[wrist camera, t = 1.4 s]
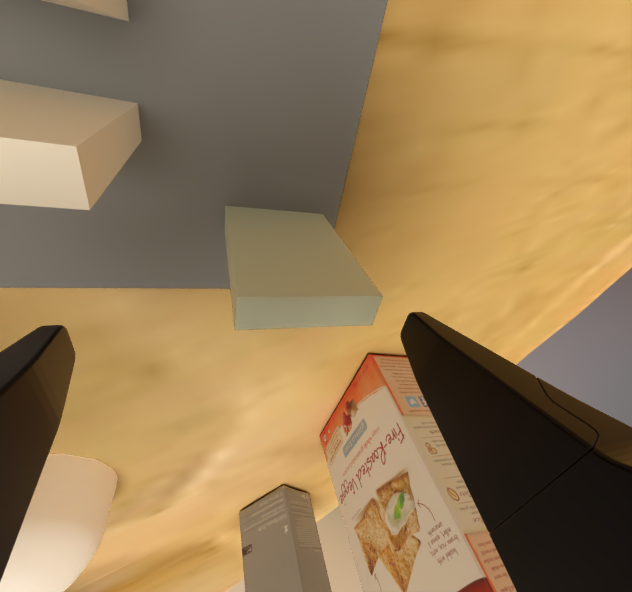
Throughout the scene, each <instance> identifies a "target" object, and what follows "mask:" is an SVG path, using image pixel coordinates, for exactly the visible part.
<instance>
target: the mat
mask: <svg viewBox="0 0 632 592" xmlns="http://www.w3.org/2000/svg"><path fill="white" fill-rule="evenodd" d="M387 1H388V0H127V7H128V17H129V21H125V20H120V19H116V18H112V17H108V16H104V15H100V14H96V13H92V12H87V11H83V10H79V9H75V8H71V7H67V6H63V5H59V4H55V3H50V2H46V1H42V0H0V79H1V80H7V81H12V82H18V83H24V84H30V85H36V86H42V87H47V88H53V89H59V90H65V91H71V92H77V93H82V94H88V95H94V96H100V97H106V98H112V99H117V100H123V101H129V102H135V103H138V110H139V119H140V129H141V138H142V141H141V142H140V144H139V145H138V146H137V148H136V149H135V150H134V152H133V153H132V154H131V156H130V157H129V158H128V160H127V161H126V163H125V164H124V165H123V167H122V168H121V169H120V171H119V172H118V173H117V175H116V176H115V177H114V179H113V180H112V181H111V183H110V184H109V185H108V187H107V188H106V189H105V191H104V192H103V193H102V195H101V196H100V197H99V199H98V200H97V201H96V203H95V204H94V205H93V207H92V208H91V209H90V210H80V209H66V208H52V207H38V206H24V205H11V204H0V288H224V289H231V288H230V279H229V269H228V259H227V250H226V240H225V206H235V207H247V208H258V209H270V210H282V211H293V212H305V213H317V214H323V215H324V216H325V218H326V219H327V220H328V222H329V223H330V225H331V226H332V227H333V229H334V227H335V223H336V219H337V214H338V210H339V206H340V202H341V197H342V193H343V189H344V185H345V180H346V176H347V172H348V167H349V163H350V159H351V155H352V150H353V146H354V142H355V138H356V133H357V129H358V125H359V121H360V116H361V112H362V108H363V104H364V99H365V95H366V91H367V86H368V82H369V78H370V74H371V69H372V65H373V61H374V57H375V52H376V48H377V44H378V40H379V35H380V31H381V27H382V23H383V18H384V14H385V10H386V5H387Z"/></svg>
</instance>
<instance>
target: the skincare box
mask: <svg viewBox="0 0 632 592" xmlns="http://www.w3.org/2000/svg"><path fill="white" fill-rule="evenodd" d="M239 515H240V529H241V541H242V555H243V568H244V580H245V592H332V591H331V587H330V583H329V578H328V574H327V570H326V565H325V561H324V557H323V552H322V548H321V544H320V540H319V535H318V530H317V526H316V522H315V517H314V513H313V508H312V504H311V500H310V496H309V494H308V493H305V492H301V491H298V490H295V489H292V488H289V487H287V486H284V485H283V486H281V487H279V488H278V489H276V490H275V491H273V492H271V493H270V494H268V495H266V496H265V497H263V498H262V499H260V500H258V501H257V502H255V503H254V504H252V505H251V506H249V507H248V508H246V509H244V510H242V511H240V513H239Z"/></svg>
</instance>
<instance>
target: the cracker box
mask: <svg viewBox="0 0 632 592" xmlns="http://www.w3.org/2000/svg"><path fill="white" fill-rule="evenodd" d="M320 439H321V443H322V446H323V450H324V454H325V457H326V460H327V464H328V468H329V471H330V475H331V478H332V482H333V486H334V489H335V493H336V496H337V500H338V503H339V507H340V510H341V513H342V517H343V521H344V525H345V528H346V532H347V535H348V539H349V543H350V546H351V550H352V553H353V557H354V560H355V564H356V568H357V571H358V574H359V578H360V582H361V585H362V589H363V592H517V591H516V589H515V587H514V585H513V583H512V581H511V579H510V577H509V575H508V573H507V570H506V568H505V566H504V564H503V562H502V560H501V558H500V556H499V554H498V552H497V550H496V547H495V545H494V543H493V541H492V539H491V537H490V535H489V532H488V530H487V528H486V526H485V524H484V522H483V520H482V518H481V516H480V514H479V512H478V509H477V507H476V505H475V503H474V501H473V499H472V497H471V495H470V493H469V491H468V489H467V487H466V484H465V482H464V480H463V478H462V476H461V474H460V472H459V470H458V468H457V466H456V464H455V461H454V459H453V457H452V455H451V453H450V451H449V449H448V447H447V445H446V443H445V441H444V439H443V436H442V434H441V432H440V430H439V428H438V426H437V424H436V422H435V420H434V418H433V416H432V413H431V411H430V409H429V407H428V405H427V403H426V401H425V399H424V397H423V395H422V393H421V391H420V388H419V386H418V384H417V382H416V379H415V377H414V374H413V371H412V368H411V366H410V363H409V360H408V357H399V356H384V355H371V354H369V355H368V356H367V358H366V360H365V361H364V363H363V365H362V366H361V368H360V370H359V371H358V373H357V375H356V377H355V378H354V380H353V382H352V383H351V385H350V387H349V388H348V390H347V391H346V393H345V395H344V397H343V398H342V400H341V402H340V403H339V405H338V407H337V408H336V410H335V412H334V413H333V415H332V417H331V418H330V420H329V422H328V423H327V425H326V427H325V428H324V430H323V431H322V433H321V435H320Z"/></svg>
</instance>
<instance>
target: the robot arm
mask: <svg viewBox="0 0 632 592" xmlns="http://www.w3.org/2000/svg"><path fill="white" fill-rule="evenodd" d="M401 341H402V343H403V346H404V349H405V352H406V355H407V357H408V360H409V363H410V366H411V368H412V371H413V374H414V377H415V379H416V382H417V384H418V386H419V388H420V391H421V393H422V395H423V397H424V399H425V401H426V403H427V405H428V407H429V409H430V411H431V413H432V416H433V418H434V420H435V422H436V424H437V426H438V428H439V430H440V432H441V434H442V436H443V439H444V441H445V443H446V445H447V447H448V449H449V451H450V453H451V455H452V457H453V459H454V461H455V464H456V466H457V468H458V470H459V472H460V474H461V476H462V478H463V480H464V482H465V484H466V487H467V489H468V491H469V493H470V495H471V497H472V499H473V501H474V503H475V505H476V507H477V509H478V512H479V514H480V516H481V518H482V520H483V522H484V524H485V526H486V528H487V530H488V532H489V535H490V537H491V539H492V541H493V543H494V545H495V547H496V550H497V552H498V554H499V556H500V558H501V560H502V562H503V564H504V566H505V568H506V570H507V573H508V575H509V577H510V579H511V581H512V583H513V585H514V587H515V589H516V591H517V592H632V427H630V426H628V425H626V424H624V423H622V422H620V421H618V420H616V419H614V418H612V417H610V416H609V415H607V414H605V413H603V412H601V411H599V410H597V409H595V408H593V407H591V406H589V405H587V404H585V403H583V402H581V401H579V400H578V399H576V398H574V397H572V396H570V395H568V394H566V393H565V392H563V391H561V390H559V389H557V388H556V387H554V386H552V385H550V384H548V383H547V382H545V381H543V380H542V379H539V378H536V377H535V376H534V375H532V374H531V373H529V372H527V371H525V370H524V369H522V368H520V367H519V366H517V365H515V364H513V363H512V362H510V361H508V360H506V359H504V358H503V357H501V356H499V355H497V354H496V353H494V352H492V351H490V350H489V349H487V348H485V347H483V346H482V345H480V344H478V343H476V342H475V341H473V340H471V339H469V338H468V337H466V336H464V335H462V334H461V333H459V332H457V331H455V330H454V329H452V328H450V327H448V326H447V325H445V324H443V323H441V322H440V321H438V320H436V319H434V318H432V317H431V316H429V315H427V314H425V313H423V312H412V313H410V314H409V315H408V317H407V319H406V321H405V324H404V326H403V328H402V331H401ZM74 363H75V351H74V348H73V345H72V342H71V340H70V337H69V334H68V331H67V329H66V328H65V327H64V326H62V325H52V326H41V327H39V328H37V329H36V330H34V331H32V332H31V333H29V334H28V335H26V336H25V337H23V338H22V339H20V340H18V341H17V342H15V343H14V344H12V345H11V346H9V347H8V348H6V349H4V350H3V351H1V352H0V582H1V579H2V577H3V574H4V571H5V569H6V566H7V563H8V561H9V558H10V555H11V553H12V550H13V547H14V545H15V542H16V539H17V537H18V534H19V531H20V529H21V526H22V523H23V521H24V518H25V515H26V513H27V510H28V507H29V505H30V502H31V499H32V497H33V494H34V491H35V489H36V486H37V483H38V481H39V478H40V475H41V473H42V470H43V467H44V465H45V462H46V460H47V457H48V454H49V452H50V449H51V446H52V444H53V441H54V438H55V436H56V433H57V430H58V427H59V424H60V421H61V417H62V413H63V409H64V405H65V401H66V397H67V392H68V388H69V384H70V380H71V375H72V371H73V367H74Z"/></svg>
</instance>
